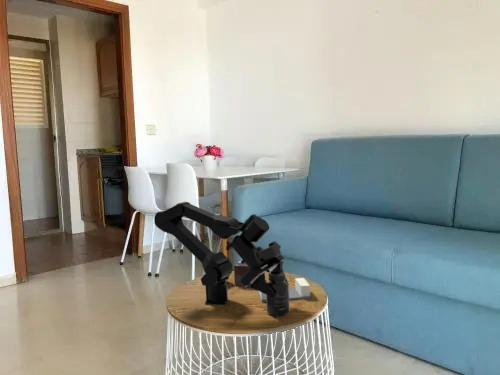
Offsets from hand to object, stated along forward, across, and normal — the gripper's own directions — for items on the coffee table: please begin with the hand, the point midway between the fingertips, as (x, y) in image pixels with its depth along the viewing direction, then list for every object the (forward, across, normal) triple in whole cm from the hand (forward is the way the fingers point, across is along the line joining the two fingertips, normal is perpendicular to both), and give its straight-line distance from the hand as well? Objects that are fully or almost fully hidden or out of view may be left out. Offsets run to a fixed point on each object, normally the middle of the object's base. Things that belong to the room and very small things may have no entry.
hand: (281, 291), depth 125 cm
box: (-12, +19, +22) cm, 31 cm away
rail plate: (+1, +13, +9) cm, 16 cm away
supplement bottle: (+4, 0, +6) cm, 7 cm away
